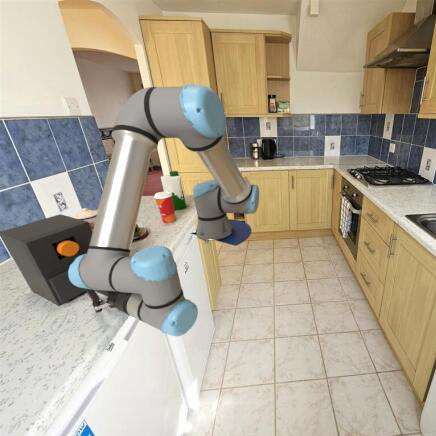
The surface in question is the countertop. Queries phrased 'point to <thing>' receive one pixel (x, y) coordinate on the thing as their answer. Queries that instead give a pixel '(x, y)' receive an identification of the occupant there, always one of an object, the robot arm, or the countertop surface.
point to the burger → (140, 232)
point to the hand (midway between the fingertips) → (86, 276)
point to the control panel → (46, 243)
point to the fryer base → (42, 284)
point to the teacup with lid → (87, 216)
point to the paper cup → (165, 206)
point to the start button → (67, 248)
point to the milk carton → (174, 189)
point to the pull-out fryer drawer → (64, 287)
